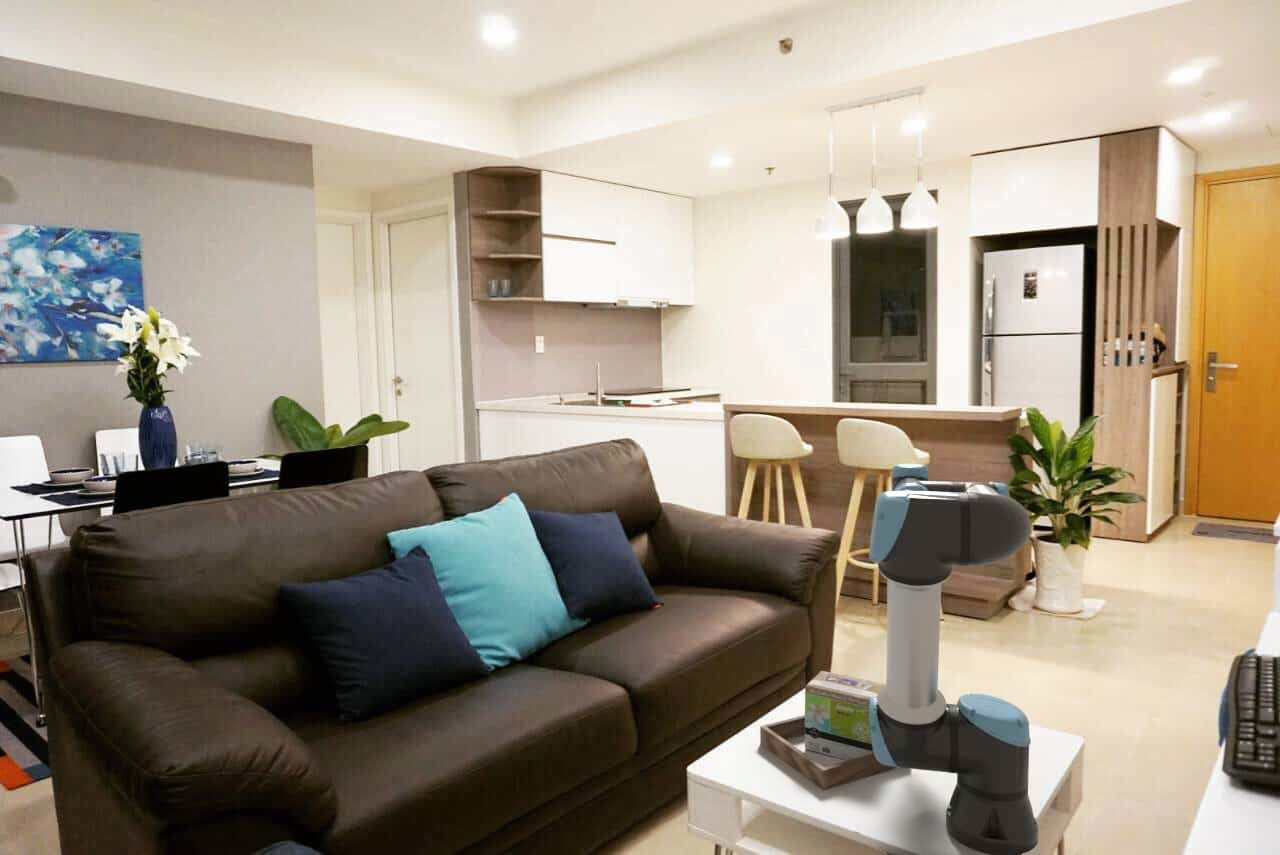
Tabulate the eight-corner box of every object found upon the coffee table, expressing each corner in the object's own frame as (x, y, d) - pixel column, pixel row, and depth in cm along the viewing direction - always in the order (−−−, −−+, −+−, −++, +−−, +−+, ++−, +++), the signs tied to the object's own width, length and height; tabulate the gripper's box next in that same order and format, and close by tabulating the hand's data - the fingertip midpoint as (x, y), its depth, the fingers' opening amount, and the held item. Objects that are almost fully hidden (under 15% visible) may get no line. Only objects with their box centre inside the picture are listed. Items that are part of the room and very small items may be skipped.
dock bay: (910, 764, 177) (910, 745, 177) (823, 790, 168) (823, 770, 167) (841, 723, 197) (841, 706, 196) (760, 743, 187) (760, 726, 187)
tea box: (803, 751, 184) (803, 684, 182) (820, 733, 192) (820, 668, 191) (873, 768, 176) (873, 698, 174) (887, 748, 184) (888, 682, 183)
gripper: (920, 529, 193) (918, 631, 195) (874, 535, 187) (873, 641, 189) (945, 535, 186) (943, 641, 188) (898, 541, 180) (897, 651, 182)
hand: (908, 641), depth 189 cm, fingers closed
